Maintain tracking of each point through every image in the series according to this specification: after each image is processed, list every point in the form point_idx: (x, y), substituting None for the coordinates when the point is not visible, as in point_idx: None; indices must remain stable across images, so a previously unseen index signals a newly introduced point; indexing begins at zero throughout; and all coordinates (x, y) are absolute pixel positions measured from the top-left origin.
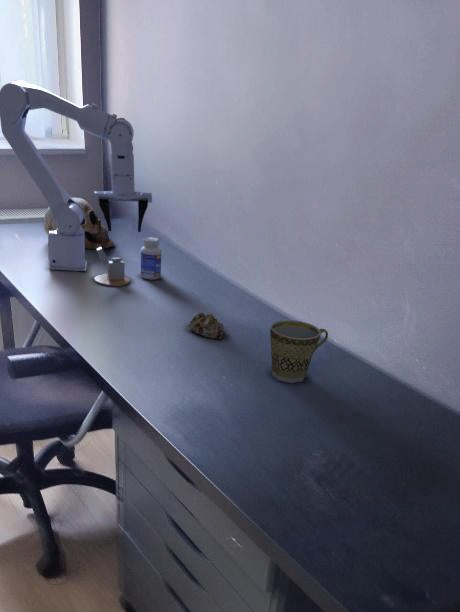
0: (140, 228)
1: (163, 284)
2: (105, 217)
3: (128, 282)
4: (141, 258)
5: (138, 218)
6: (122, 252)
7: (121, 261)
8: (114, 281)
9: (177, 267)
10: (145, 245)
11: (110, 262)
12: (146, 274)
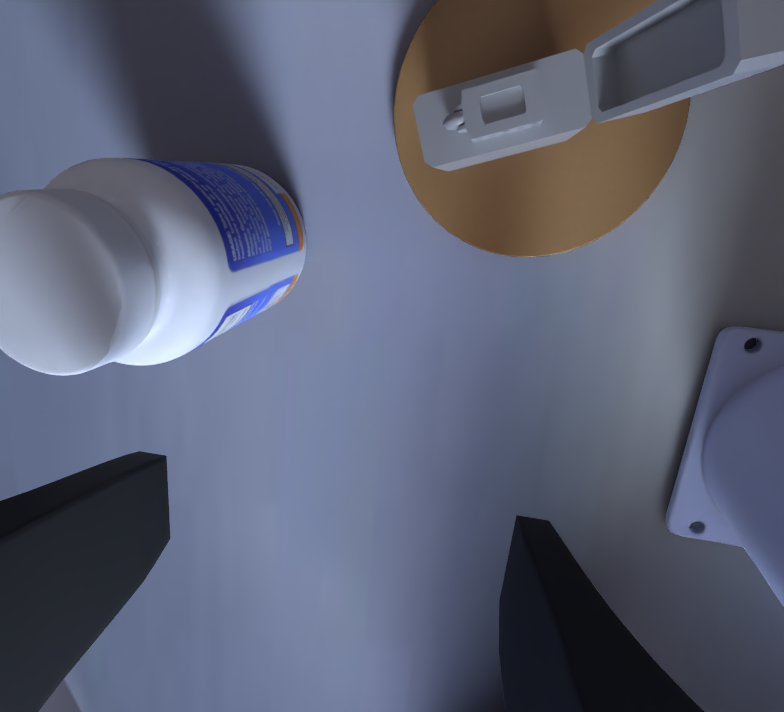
0: (105, 464)
1: (157, 70)
2: (647, 658)
3: (408, 47)
4: (246, 230)
5: (57, 630)
6: (392, 707)
7: (441, 134)
8: (523, 46)
9: (88, 444)
10: (136, 227)
11: (563, 80)
12: (256, 174)
